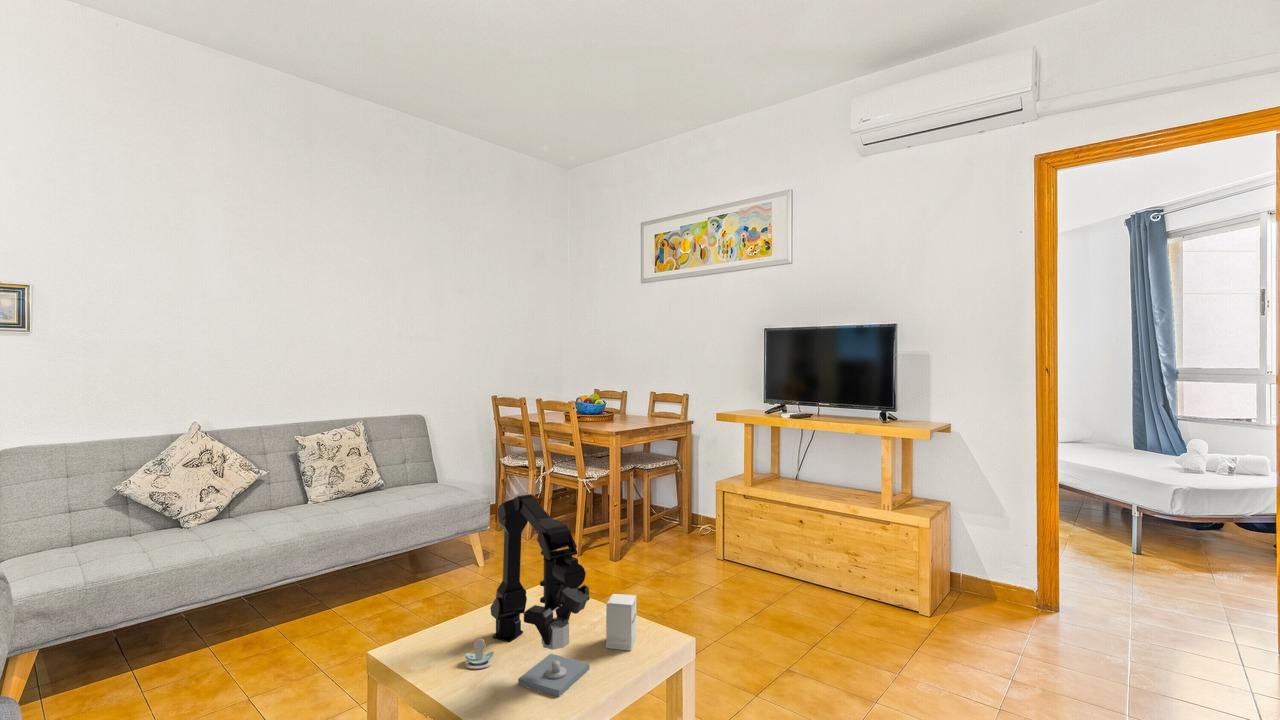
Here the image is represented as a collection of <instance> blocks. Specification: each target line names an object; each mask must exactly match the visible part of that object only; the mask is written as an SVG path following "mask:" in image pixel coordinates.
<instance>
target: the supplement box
mask: <svg viewBox="0 0 1280 720" xmlns="http://www.w3.org/2000/svg"><path fill="white" fill-rule="evenodd" d="M605 609H606V616H605V617H606V621H605V622H606V627H605V628H606V629H605V631H606V637H605V639H606V640H605V641H606V643H605V647H606V649H612V650H621V651H622V650H623V651H632V649H633V647H634V644H635V641H636V640H637V595H636V594H622V593H612V594H611V596H610V597H609V599H608V600H607V602H606V608H605Z"/></svg>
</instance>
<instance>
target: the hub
mask: <svg viewBox="0 0 1280 720" xmlns="http://www.w3.org/2000/svg"><path fill="white" fill-rule="evenodd" d="M552 619H556V621H555V622H554V623H553V624H552V627H551V639H550V645H545V643H544V641H543V639H542V638H541V644H542V647H543V648H544V649H548V650H558V649H564V648H565V647H566V646H568V645H569V644H570V622H569V621H568V620H567V619H565V618H560V617H557V616H556V617H555V616H554V617H553V618H552Z"/></svg>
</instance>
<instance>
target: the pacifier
mask: <svg viewBox="0 0 1280 720" xmlns="http://www.w3.org/2000/svg"><path fill="white" fill-rule="evenodd" d="M485 649H486V642H485V640H484V639H483V638H477V639H476V640H475V641H474V643H473V650H474V652H475V653H468V652H467V653H466V654H464V658H465V660H466V661H467V663H466V664H465V667H466V668H467V669H469V670H470V669H471V670H481V669H486V668H489V667H491V665H492V661H491V660H490V659H492V658H493V656H494V654H495V651H489V652H487V653H485ZM484 653H485V654H484Z"/></svg>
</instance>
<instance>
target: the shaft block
mask: <svg viewBox="0 0 1280 720" xmlns="http://www.w3.org/2000/svg"><path fill="white" fill-rule="evenodd" d="M589 670H590V662H585V661H582V660H576V659H573V658H570V657H565V656H563V655H558V654H554V653H550V654H548V655H547V656H546V657H544V658H543V659H542V660H540V661H539V662H538V663H536V664H535V665H534V666H533V667H531V668H530V669H529V670H528V671H526V672H525V673H524V674H522V675H521V676H520V677H519V678H517V681H518V682H517V685H518V686H521V687H525V688H527V689H531V690H534V691H538V692H541V693H545V694H547V695H551V696H555V697H559V698H560V697H561V696H562V695H563V694H564V693H566V691H567V690H569V689H570V687H571V688H572V686H573V685H574V684H575V683H576V682H577V681H579V679H580V678H582V677H583V676H584V675H585V674H586V673H587V672H588V671H589Z"/></svg>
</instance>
